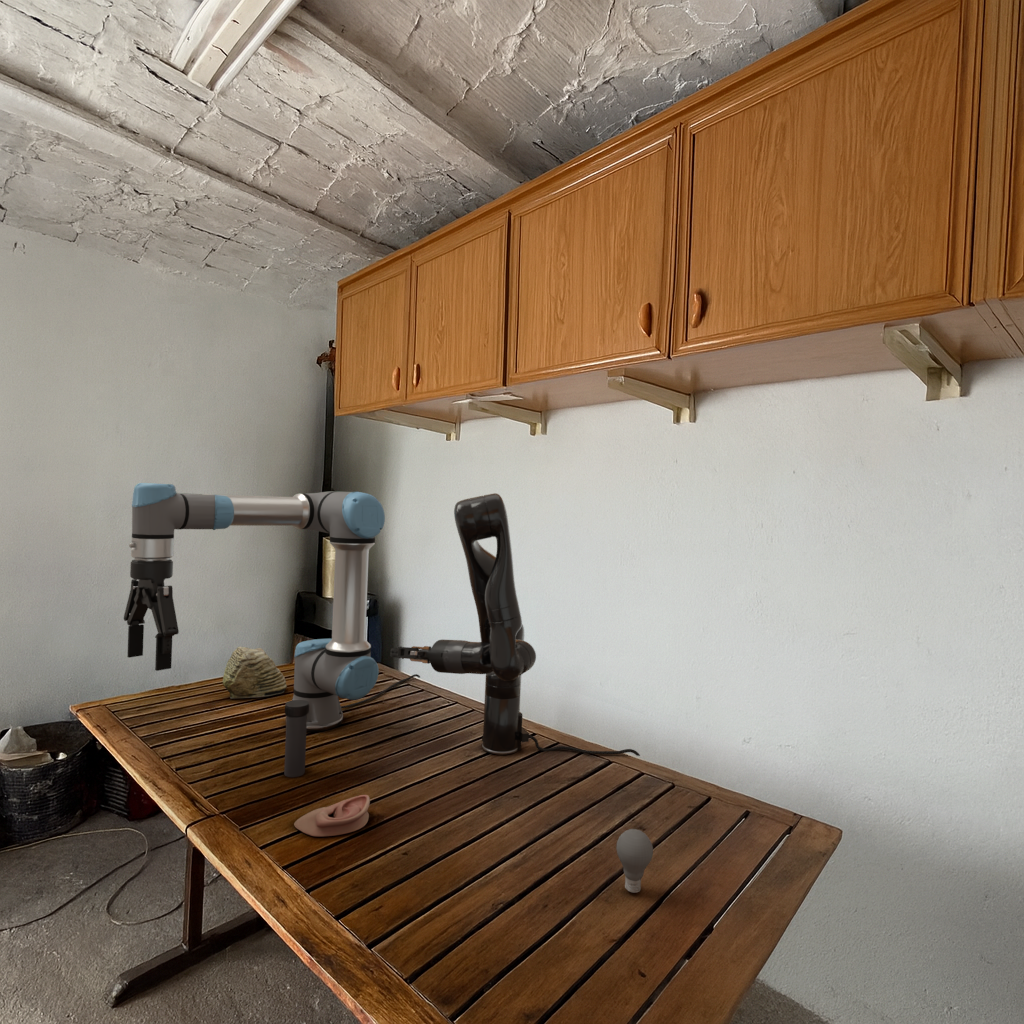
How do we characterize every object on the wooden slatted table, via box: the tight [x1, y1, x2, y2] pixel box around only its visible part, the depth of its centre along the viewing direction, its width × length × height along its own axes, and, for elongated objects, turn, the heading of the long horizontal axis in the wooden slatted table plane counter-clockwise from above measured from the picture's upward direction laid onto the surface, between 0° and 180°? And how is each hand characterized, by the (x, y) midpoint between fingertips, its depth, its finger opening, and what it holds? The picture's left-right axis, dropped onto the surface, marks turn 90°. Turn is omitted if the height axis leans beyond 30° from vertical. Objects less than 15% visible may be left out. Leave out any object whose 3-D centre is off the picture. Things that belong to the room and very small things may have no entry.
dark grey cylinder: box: [283, 714, 307, 778], centre depth 144 cm, size 4×4×16 cm
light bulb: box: [615, 828, 654, 894], centre depth 106 cm, size 6×6×10 cm
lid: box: [284, 700, 309, 717], centre depth 144 cm, size 5×5×2 cm
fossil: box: [222, 646, 288, 699], centre depth 198 cm, size 9×18×15 cm, turn 132°
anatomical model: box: [293, 794, 371, 837], centre depth 123 cm, size 13×4×12 cm
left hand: (148, 662), depth 129 cm, fingers open, 13 cm apart
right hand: (403, 653), depth 155 cm, fingers open, 8 cm apart
